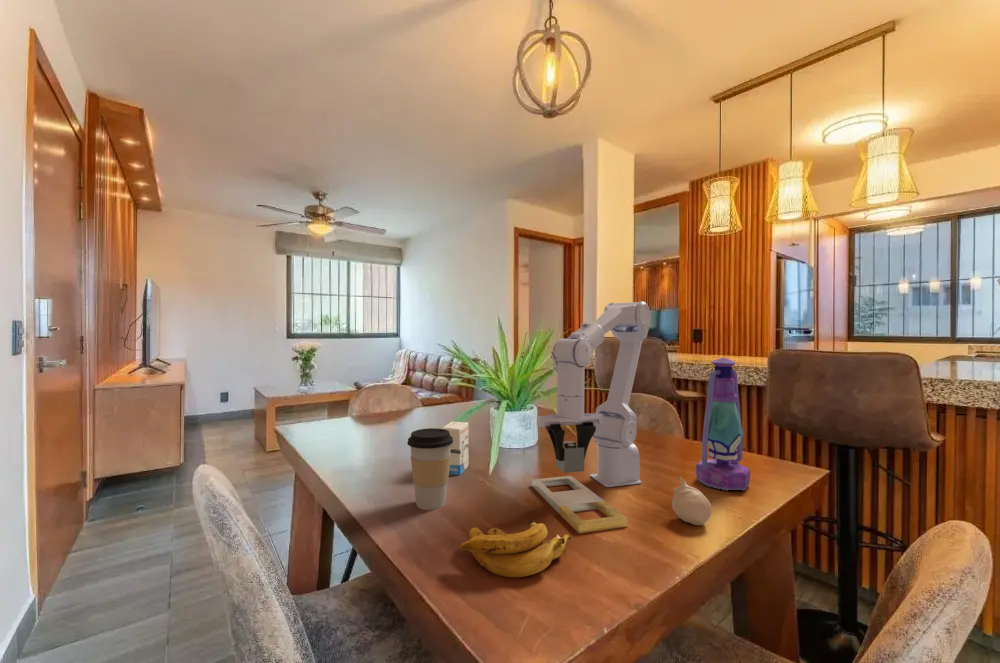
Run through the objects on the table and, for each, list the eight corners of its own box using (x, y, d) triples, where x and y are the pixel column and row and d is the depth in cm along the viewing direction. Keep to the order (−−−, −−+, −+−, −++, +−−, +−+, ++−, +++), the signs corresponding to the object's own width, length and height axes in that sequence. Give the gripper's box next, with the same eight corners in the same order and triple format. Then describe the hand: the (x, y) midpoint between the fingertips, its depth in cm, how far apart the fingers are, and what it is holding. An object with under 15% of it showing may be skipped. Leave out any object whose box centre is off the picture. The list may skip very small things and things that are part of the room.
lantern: (719, 472, 110) (720, 355, 110) (764, 487, 100) (765, 358, 99) (682, 480, 104) (683, 356, 104) (726, 497, 94) (727, 360, 93)
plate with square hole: (571, 481, 103) (571, 475, 103) (627, 526, 80) (627, 518, 80) (531, 486, 100) (531, 479, 100) (578, 533, 77) (578, 525, 77)
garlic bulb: (705, 517, 84) (705, 476, 84) (714, 532, 78) (715, 488, 78) (669, 513, 85) (670, 473, 85) (676, 528, 79) (676, 485, 79)
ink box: (460, 476, 106) (460, 429, 106) (441, 475, 107) (441, 428, 107) (469, 465, 115) (469, 421, 115) (451, 464, 116) (451, 420, 116)
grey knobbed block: (574, 464, 95) (575, 439, 94) (584, 471, 90) (584, 444, 90) (555, 466, 93) (556, 440, 93) (564, 472, 89) (564, 445, 89)
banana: (592, 567, 67) (592, 530, 67) (477, 597, 59) (477, 556, 59) (543, 525, 81) (543, 495, 81) (446, 545, 73) (446, 512, 73)
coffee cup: (460, 499, 92) (460, 429, 92) (440, 517, 83) (440, 440, 83) (421, 493, 95) (421, 425, 95) (398, 510, 87) (398, 436, 86)
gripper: (592, 391, 97) (592, 451, 97) (532, 393, 93) (531, 455, 93) (608, 396, 90) (608, 460, 90) (544, 398, 87) (543, 465, 87)
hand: (570, 458), depth 92 cm, fingers closed on grey knobbed block, 4 cm apart
